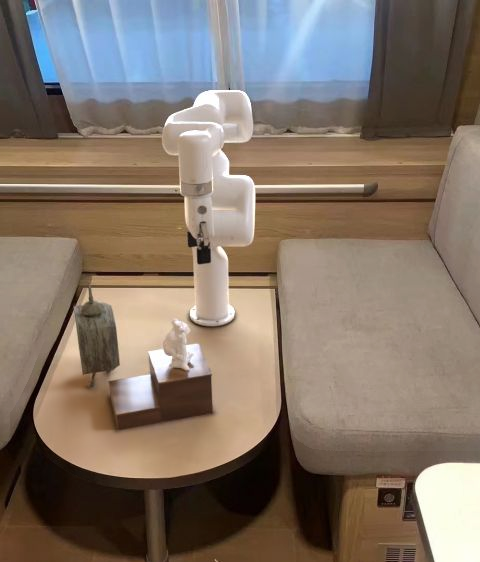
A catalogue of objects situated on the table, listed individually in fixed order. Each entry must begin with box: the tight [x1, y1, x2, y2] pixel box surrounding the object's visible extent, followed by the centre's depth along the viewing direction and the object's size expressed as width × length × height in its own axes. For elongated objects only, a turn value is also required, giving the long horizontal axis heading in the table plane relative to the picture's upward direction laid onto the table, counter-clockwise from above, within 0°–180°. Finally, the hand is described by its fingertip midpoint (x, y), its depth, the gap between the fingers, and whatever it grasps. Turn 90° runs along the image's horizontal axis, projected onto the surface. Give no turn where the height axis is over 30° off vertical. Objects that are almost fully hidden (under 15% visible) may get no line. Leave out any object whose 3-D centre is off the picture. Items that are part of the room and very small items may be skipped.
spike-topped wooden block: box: [73, 282, 121, 388], centre depth 184 cm, size 14×9×25 cm, turn 13°
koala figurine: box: [162, 317, 193, 370], centre depth 170 cm, size 8×7×12 cm
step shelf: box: [108, 343, 214, 431], centre depth 175 cm, size 13×22×11 cm, turn 105°
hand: (199, 254), depth 180 cm, fingers open, 9 cm apart
